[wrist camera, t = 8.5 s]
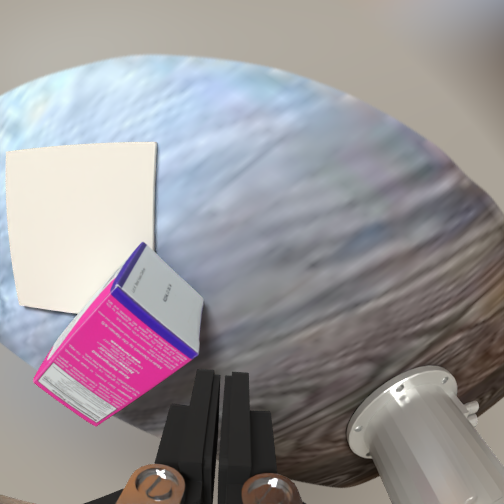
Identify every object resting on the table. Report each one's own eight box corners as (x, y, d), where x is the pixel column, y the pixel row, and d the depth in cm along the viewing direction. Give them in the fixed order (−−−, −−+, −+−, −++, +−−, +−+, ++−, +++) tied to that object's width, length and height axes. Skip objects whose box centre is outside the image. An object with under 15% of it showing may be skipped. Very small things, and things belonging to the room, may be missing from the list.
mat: (157, 142, 18) (155, 141, 18) (156, 318, 22) (155, 321, 21) (9, 151, 17) (6, 151, 17) (22, 302, 21) (19, 305, 20)
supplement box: (208, 301, 21) (112, 376, 23) (143, 238, 19) (57, 331, 21) (203, 359, 16) (94, 429, 18) (114, 283, 14) (27, 379, 16)
